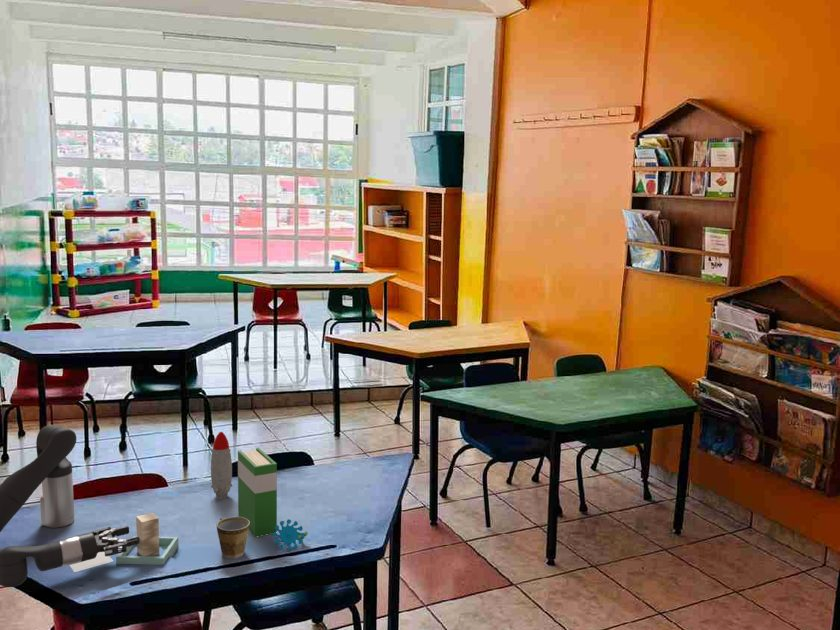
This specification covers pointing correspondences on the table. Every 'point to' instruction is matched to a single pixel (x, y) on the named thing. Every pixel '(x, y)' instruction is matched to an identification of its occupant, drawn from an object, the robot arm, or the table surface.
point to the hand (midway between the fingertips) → (133, 534)
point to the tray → (165, 543)
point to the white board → (92, 562)
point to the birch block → (148, 534)
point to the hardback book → (257, 491)
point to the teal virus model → (289, 535)
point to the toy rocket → (221, 466)
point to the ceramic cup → (233, 536)
